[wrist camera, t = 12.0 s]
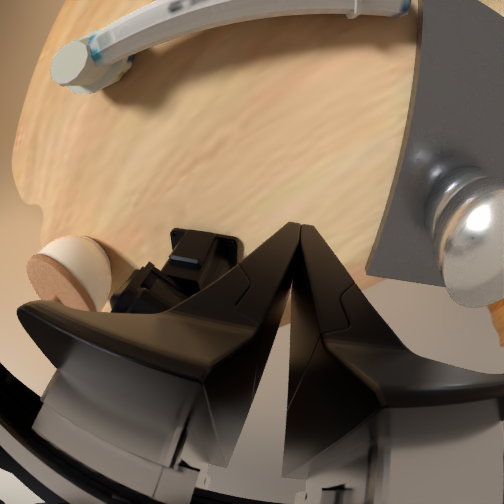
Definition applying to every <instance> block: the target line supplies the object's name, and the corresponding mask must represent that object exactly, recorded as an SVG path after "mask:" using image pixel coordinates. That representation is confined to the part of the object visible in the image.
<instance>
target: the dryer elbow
mask: <svg viewBox="0 0 504 504" xmlns="http://www.w3.org/2000/svg"><path fill="white" fill-rule="evenodd" d="M432 253H433V257H434V261H435V263H436V265H437V268H438V270H439V272H440V274H441V277H442V279H443V281H444V284H445V286H446V288H447V291H448V293H449V295H450V297H451V298H452V299H453V300H454V301H455V302H456V303H458V304H460V305H462V306H465V307H471V308H472V307H483V306H487V305H490V304H493V303H495V302H497V301H499V300H501V299H502V298H504V180H502V179H500V178H496V177H484V178H480V179H477V180H474V181H472V182H470V183H468V184H467V185H465V186H464V187H463V188H461V189H460V190H459V191H458V192H457V193H456V194H455V195H454V196H453V197H452V198H451V199H450V200H449V202H448V203H447V204H446V206H445V207H444V209H443V210H442V212H441V214H440V216H439V218H438V221H437V223H436V226H435V229H434V233H433V239H432Z"/></svg>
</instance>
